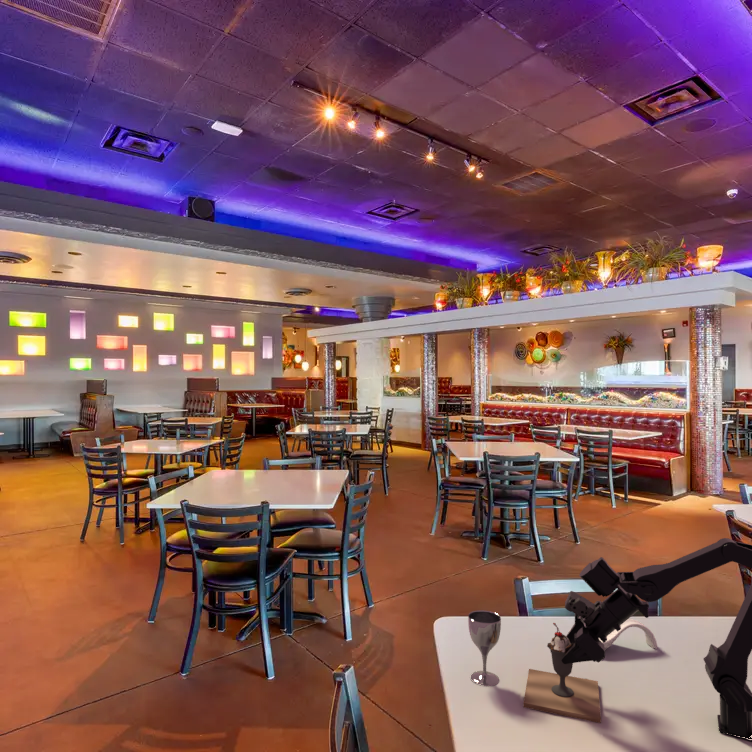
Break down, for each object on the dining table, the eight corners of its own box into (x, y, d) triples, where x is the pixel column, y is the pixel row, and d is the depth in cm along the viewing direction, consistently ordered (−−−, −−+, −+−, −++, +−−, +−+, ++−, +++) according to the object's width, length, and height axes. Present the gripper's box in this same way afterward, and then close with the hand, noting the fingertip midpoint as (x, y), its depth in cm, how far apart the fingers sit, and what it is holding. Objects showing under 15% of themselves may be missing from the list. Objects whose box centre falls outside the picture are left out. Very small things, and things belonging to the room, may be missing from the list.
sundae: (546, 682, 126) (545, 618, 127) (575, 686, 124) (575, 621, 125) (548, 696, 119) (548, 629, 120) (579, 701, 118) (579, 632, 119)
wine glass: (477, 689, 124) (477, 624, 125) (463, 672, 132) (462, 612, 133) (507, 684, 126) (506, 621, 127) (491, 668, 134) (491, 608, 135)
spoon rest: (580, 658, 140) (580, 630, 141) (562, 638, 152) (562, 613, 152) (665, 656, 142) (664, 629, 142) (640, 636, 153) (640, 611, 154)
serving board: (600, 723, 111) (600, 718, 111) (523, 707, 117) (523, 702, 117) (597, 685, 126) (597, 681, 126) (529, 672, 132) (529, 668, 132)
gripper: (585, 570, 130) (539, 609, 133) (587, 596, 112) (534, 641, 116) (621, 607, 127) (573, 646, 130) (628, 640, 109) (573, 684, 112)
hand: (563, 653), depth 122 cm, fingers open, 9 cm apart
